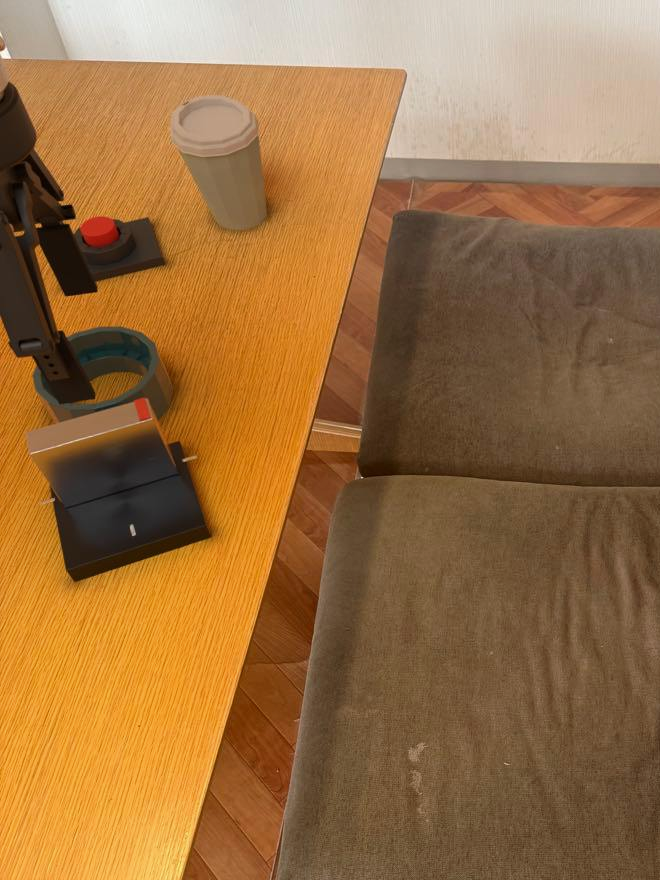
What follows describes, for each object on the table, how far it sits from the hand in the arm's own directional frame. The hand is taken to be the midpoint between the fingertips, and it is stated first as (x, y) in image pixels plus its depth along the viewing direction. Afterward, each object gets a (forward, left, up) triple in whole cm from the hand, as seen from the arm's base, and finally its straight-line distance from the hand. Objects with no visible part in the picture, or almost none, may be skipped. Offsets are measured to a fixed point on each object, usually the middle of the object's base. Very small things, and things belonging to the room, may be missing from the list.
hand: (80, 342), depth 76 cm
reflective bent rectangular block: (-3, +1, -18) cm, 18 cm away
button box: (+2, +41, -21) cm, 46 cm away
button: (+2, +41, -17) cm, 44 cm away
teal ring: (-2, +15, -21) cm, 25 cm away
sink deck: (-3, 0, -21) cm, 21 cm away
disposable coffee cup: (+19, +43, -21) cm, 51 cm away
